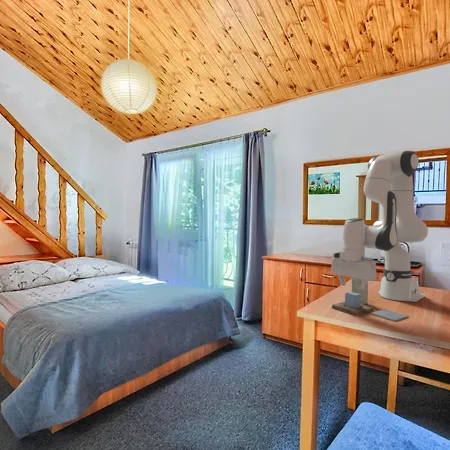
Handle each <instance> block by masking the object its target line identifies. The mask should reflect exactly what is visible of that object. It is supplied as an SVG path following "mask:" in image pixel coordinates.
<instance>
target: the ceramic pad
mask: <svg viewBox="0 0 450 450" xmlns="http://www.w3.org/2000/svg"><path fill="white" fill-rule="evenodd" d="M370 315H372V316H375V317H377V318H378V317H379V318H381V319H384V320H385V319H386V320H388V321H392V322H394V323H395V322H397V321H400V320H401V321H402V320H403V319H407V318H409V315H407V314H404V313H400V312H396V311H393V310H389V309H386V308H384V309H380V310H377V311H372V312H370Z"/></svg>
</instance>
